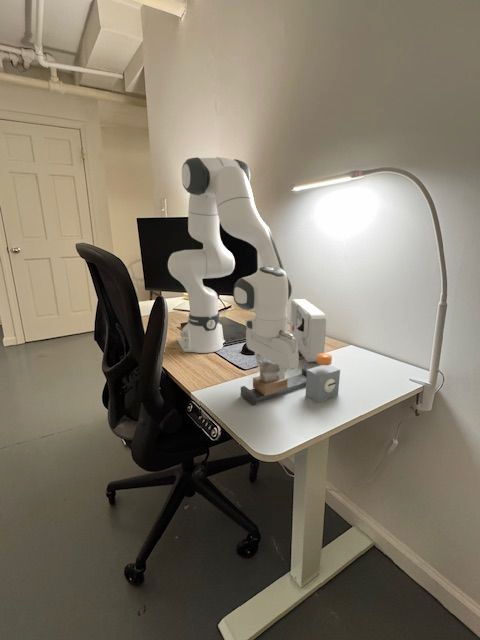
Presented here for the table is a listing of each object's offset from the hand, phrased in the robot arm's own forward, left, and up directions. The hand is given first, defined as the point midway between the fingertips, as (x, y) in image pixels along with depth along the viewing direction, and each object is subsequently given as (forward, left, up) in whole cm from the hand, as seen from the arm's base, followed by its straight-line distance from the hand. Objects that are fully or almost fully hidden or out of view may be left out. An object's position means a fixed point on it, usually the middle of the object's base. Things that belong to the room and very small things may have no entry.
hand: (270, 372), depth 95 cm
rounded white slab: (-21, +33, -7) cm, 40 cm away
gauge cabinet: (+9, +12, -7) cm, 16 cm away
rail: (0, +4, -7) cm, 8 cm away
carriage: (0, 0, -5) cm, 5 cm away
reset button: (+9, +12, +3) cm, 15 cm away
